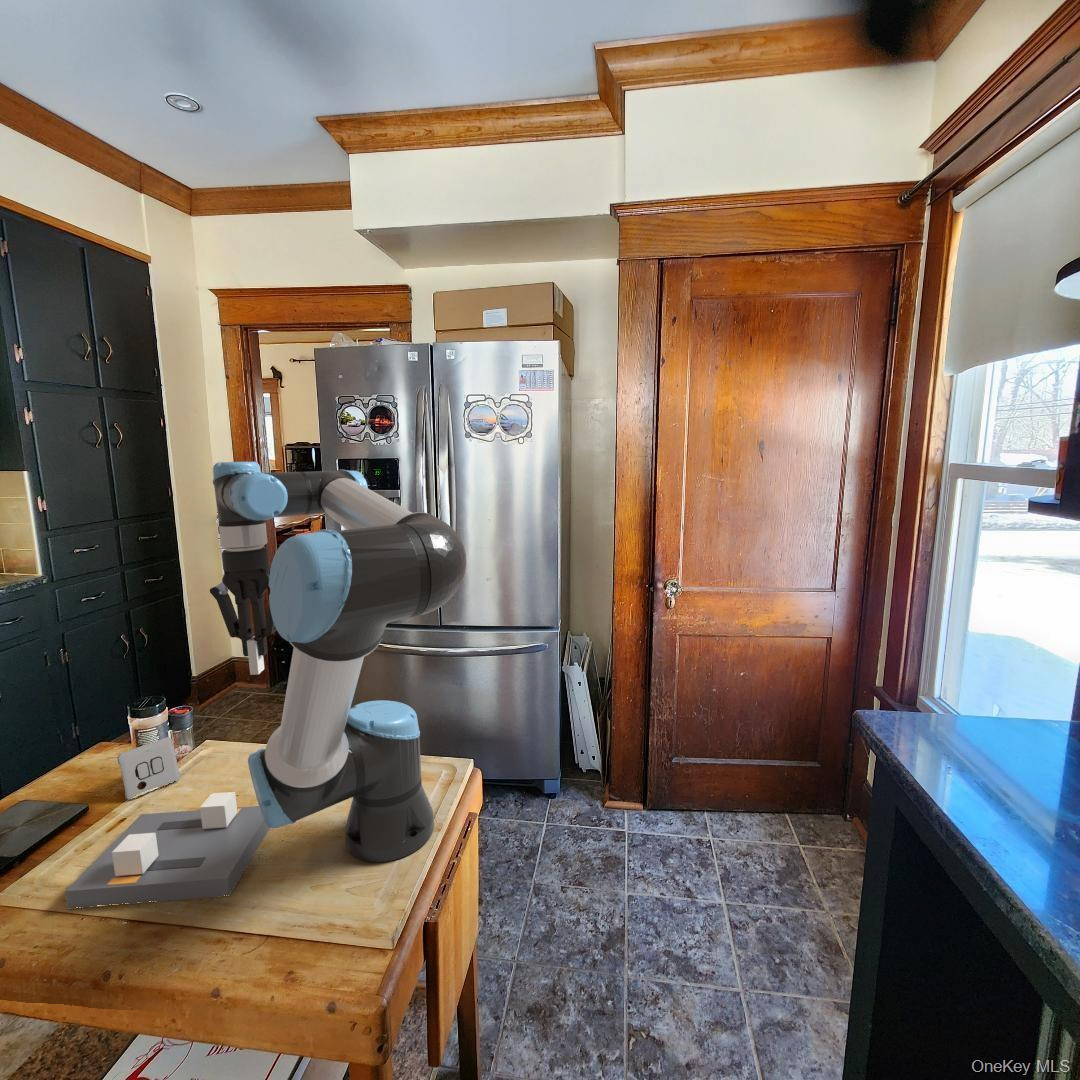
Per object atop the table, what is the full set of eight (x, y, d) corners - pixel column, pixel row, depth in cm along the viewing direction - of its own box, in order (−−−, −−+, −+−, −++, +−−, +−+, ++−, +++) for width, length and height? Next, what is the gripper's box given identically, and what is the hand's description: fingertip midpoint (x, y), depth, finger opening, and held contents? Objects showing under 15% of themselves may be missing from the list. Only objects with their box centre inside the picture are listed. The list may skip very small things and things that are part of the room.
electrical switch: (127, 803, 108) (120, 757, 107) (119, 796, 111) (112, 751, 111) (181, 781, 115) (174, 738, 115) (172, 775, 119) (166, 733, 118)
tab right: (237, 812, 99) (235, 791, 98) (226, 827, 95) (224, 805, 94) (214, 814, 99) (211, 793, 98) (202, 828, 95) (199, 807, 94)
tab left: (158, 855, 88) (155, 832, 88) (143, 873, 85) (139, 850, 84) (132, 857, 88) (128, 834, 88) (115, 876, 84) (111, 852, 84)
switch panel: (274, 819, 102) (273, 804, 101) (229, 895, 84) (227, 877, 84) (143, 829, 100) (141, 813, 100) (68, 909, 82) (65, 890, 82)
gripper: (289, 543, 104) (300, 662, 108) (217, 545, 103) (230, 666, 107) (274, 549, 97) (286, 677, 100) (196, 552, 96) (211, 681, 99)
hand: (257, 671), depth 104 cm, fingers closed
